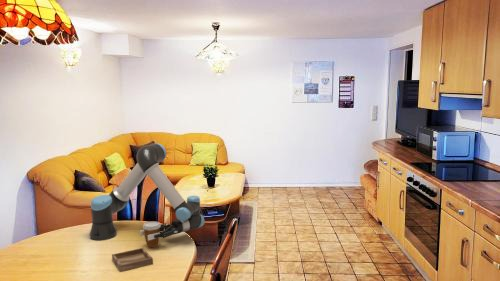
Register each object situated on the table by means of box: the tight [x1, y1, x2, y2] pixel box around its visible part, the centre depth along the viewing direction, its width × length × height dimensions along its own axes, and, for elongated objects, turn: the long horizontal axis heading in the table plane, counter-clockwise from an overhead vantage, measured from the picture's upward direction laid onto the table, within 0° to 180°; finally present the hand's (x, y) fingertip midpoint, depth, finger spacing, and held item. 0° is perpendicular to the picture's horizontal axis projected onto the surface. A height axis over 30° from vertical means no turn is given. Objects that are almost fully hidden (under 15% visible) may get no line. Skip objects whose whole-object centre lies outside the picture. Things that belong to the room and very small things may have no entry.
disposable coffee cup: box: [142, 221, 161, 248], centre depth 222 cm, size 10×10×12 cm
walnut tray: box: [111, 247, 154, 273], centre depth 204 cm, size 16×16×3 cm
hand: (144, 235), depth 219 cm, fingers closed on disposable coffee cup, 8 cm apart
